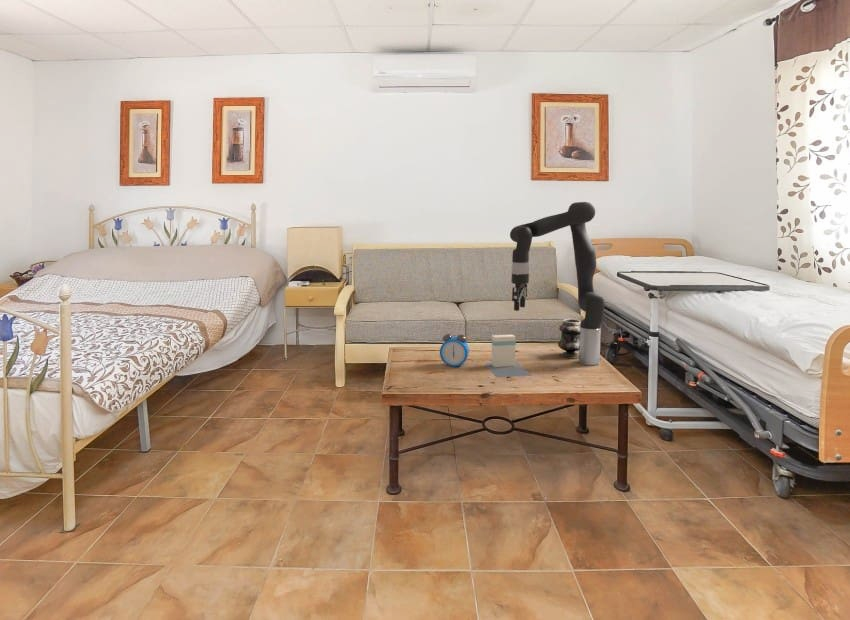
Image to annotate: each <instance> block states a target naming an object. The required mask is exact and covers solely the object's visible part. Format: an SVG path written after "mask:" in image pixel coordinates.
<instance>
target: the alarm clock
mask: <svg viewBox="0 0 850 620" xmlns="http://www.w3.org/2000/svg"><path fill="white" fill-rule="evenodd" d="M441 341H442V342H443V343H442V344H441V346H440V348H439V356H440V359H441V361H442V362H443V363H444V364H445V365H446V367H447V366H448V367H452V368H453V367H454V368H457V367H461V366H462V365H463V364H464V363H465V362H466V361H467V359H468V357H469V355H470V348H469V345H468V343H467V341H468V339H467V337H466V336H465V335H464V334H457V336H456V335H452V334H451V333H446V334H444V335H443V336H442V340H441Z"/></svg>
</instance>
